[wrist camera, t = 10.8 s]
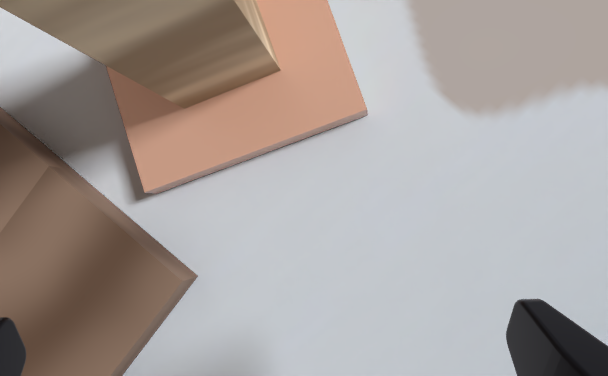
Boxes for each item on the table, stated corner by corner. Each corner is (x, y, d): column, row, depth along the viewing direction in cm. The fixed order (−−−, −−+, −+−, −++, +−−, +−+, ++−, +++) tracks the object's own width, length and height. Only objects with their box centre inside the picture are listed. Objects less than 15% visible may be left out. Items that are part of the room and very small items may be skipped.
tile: (367, 115, 18) (367, 109, 17) (156, 193, 19) (144, 192, 18) (292, -93, 19) (287, -110, 18) (95, -6, 20) (80, -17, 19)
